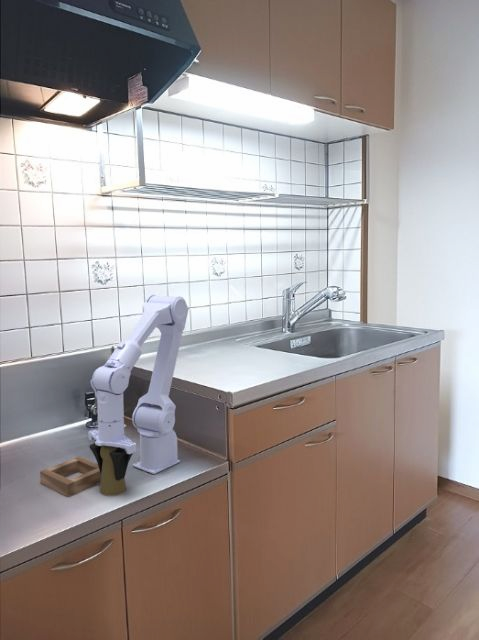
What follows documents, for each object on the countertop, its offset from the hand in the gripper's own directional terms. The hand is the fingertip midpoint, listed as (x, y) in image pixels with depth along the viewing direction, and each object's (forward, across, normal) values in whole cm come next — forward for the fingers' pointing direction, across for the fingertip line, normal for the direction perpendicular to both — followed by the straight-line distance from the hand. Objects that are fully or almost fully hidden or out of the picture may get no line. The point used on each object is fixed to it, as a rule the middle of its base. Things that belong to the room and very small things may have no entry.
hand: (112, 475), depth 115 cm
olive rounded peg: (+4, 0, 0) cm, 4 cm away
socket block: (+3, -10, -3) cm, 11 cm away
